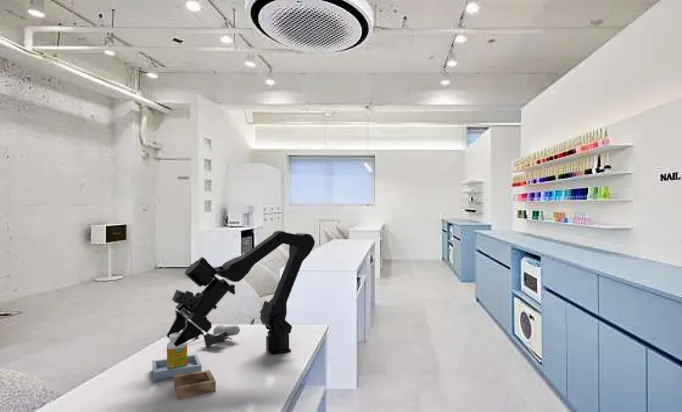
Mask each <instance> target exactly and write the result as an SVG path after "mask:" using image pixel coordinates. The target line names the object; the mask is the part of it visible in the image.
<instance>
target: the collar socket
mask: <svg viewBox="0 0 682 412" xmlns="http://www.w3.org/2000/svg"><path fill="white" fill-rule="evenodd" d="M216 383H217V382H216V379H215V377H214V375H213V373H212V372H211V370H210V369H205V370H202V371H199V372H193V373H187V374H181V375H175V376H174V379H173V387H174V391H175V395H176V399H177V400H179V399H184V398H191V397H197V396H200V395H206V394H211V393H216V392H217V388H216V387H217V386H216Z"/></svg>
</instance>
